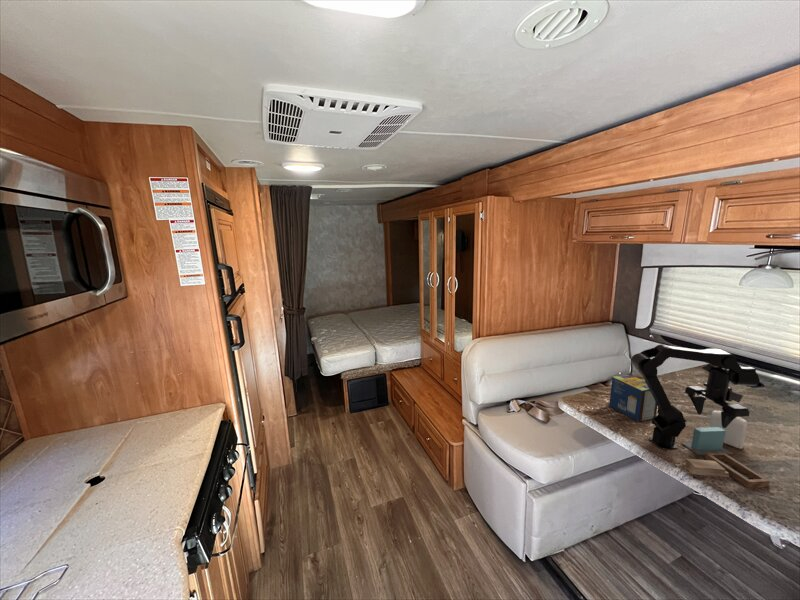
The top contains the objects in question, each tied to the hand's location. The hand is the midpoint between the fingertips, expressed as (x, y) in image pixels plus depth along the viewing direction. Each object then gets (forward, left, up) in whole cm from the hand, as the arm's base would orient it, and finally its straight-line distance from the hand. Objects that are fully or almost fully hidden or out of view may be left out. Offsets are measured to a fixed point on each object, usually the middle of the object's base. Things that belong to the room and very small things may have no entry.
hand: (711, 420), depth 119 cm
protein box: (-8, +28, -13) cm, 32 cm away
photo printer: (+12, +4, -13) cm, 18 cm away
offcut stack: (-12, -11, -13) cm, 21 cm away
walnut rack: (-2, -12, -12) cm, 17 cm away
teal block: (0, 0, -12) cm, 12 cm away
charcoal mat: (0, 0, -12) cm, 12 cm away
